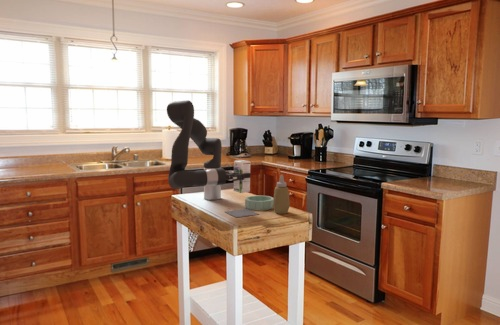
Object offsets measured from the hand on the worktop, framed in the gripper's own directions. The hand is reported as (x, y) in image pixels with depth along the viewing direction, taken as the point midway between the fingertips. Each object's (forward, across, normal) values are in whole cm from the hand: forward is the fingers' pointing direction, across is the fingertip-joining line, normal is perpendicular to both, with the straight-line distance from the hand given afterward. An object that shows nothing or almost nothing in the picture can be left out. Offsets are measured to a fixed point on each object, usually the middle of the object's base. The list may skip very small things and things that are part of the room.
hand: (246, 174), depth 184 cm
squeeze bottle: (+14, -8, +18) cm, 25 cm away
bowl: (+11, +7, +18) cm, 23 cm away
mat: (-3, 0, +18) cm, 19 cm away
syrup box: (-2, 0, +8) cm, 9 cm away
